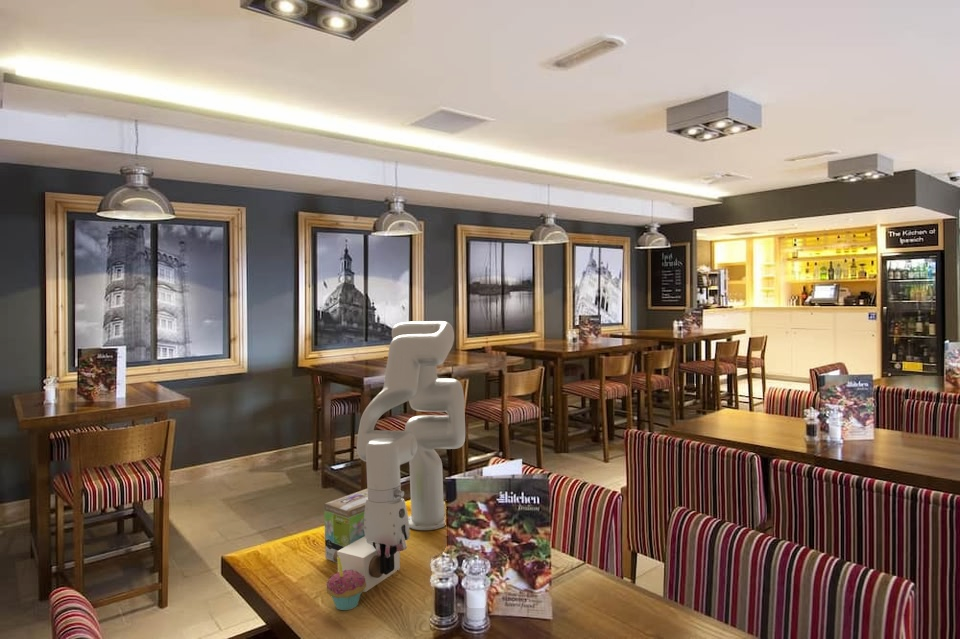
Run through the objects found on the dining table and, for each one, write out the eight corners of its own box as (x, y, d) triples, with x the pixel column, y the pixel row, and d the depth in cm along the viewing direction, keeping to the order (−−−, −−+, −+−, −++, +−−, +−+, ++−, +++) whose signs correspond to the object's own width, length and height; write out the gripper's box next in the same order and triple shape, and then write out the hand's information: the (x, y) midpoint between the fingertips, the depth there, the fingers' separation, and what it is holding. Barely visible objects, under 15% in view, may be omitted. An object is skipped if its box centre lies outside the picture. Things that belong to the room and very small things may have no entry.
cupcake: (347, 618, 129) (344, 562, 128) (318, 608, 133) (315, 554, 133) (374, 600, 136) (372, 547, 135) (346, 591, 141) (344, 540, 140)
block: (374, 562, 155) (372, 514, 154) (400, 568, 151) (398, 519, 150) (338, 584, 144) (336, 532, 143) (364, 592, 140) (362, 538, 139)
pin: (386, 572, 145) (385, 552, 144) (373, 581, 140) (372, 560, 140) (344, 561, 151) (343, 542, 151) (330, 569, 147) (329, 549, 147)
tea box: (350, 569, 152) (348, 510, 151) (324, 559, 158) (322, 502, 157) (394, 547, 164) (392, 493, 163) (368, 539, 170) (366, 486, 169)
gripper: (420, 492, 140) (423, 571, 141) (369, 484, 147) (372, 559, 148) (400, 503, 134) (404, 585, 134) (348, 493, 141) (351, 572, 142)
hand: (387, 571), depth 141 cm, fingers closed
